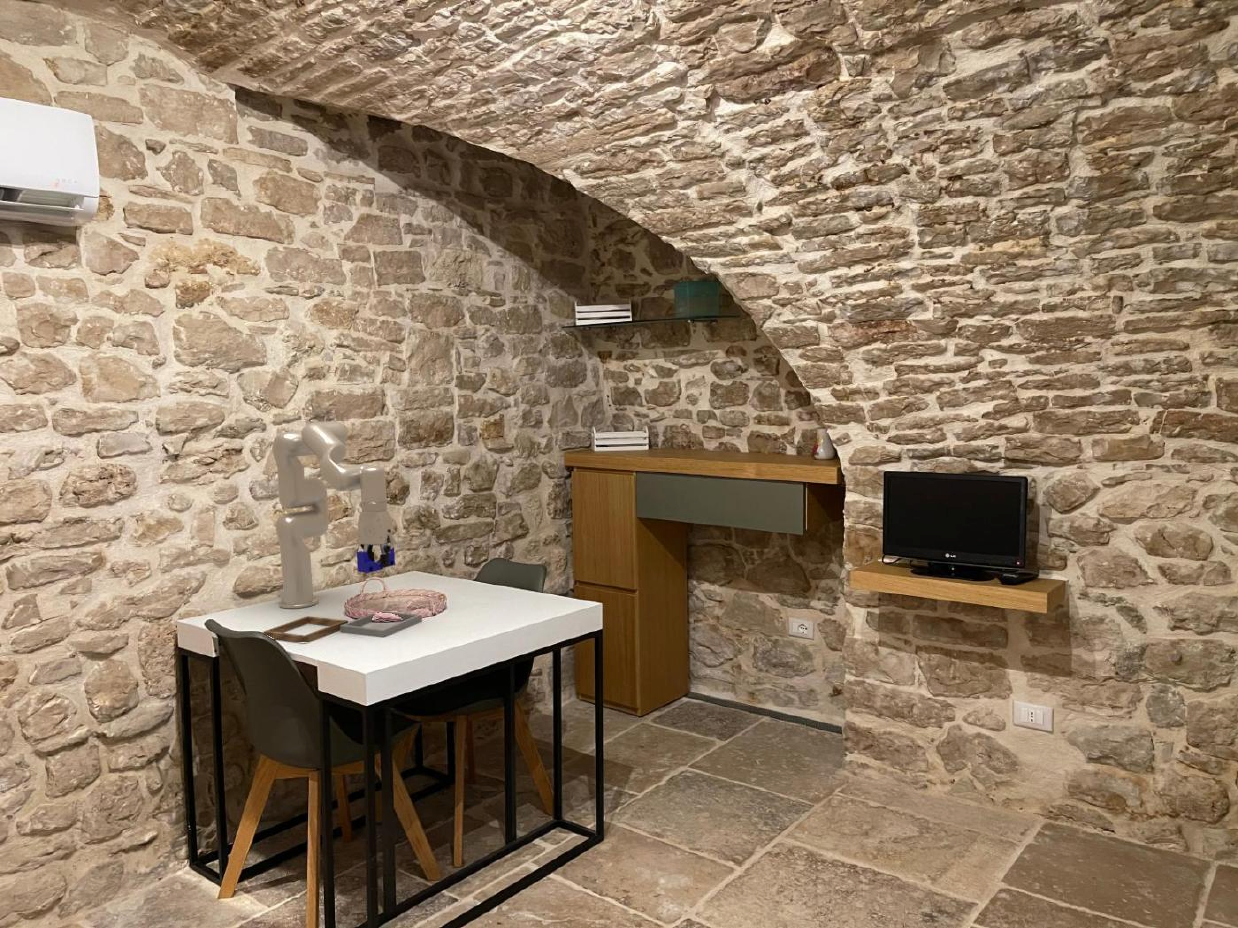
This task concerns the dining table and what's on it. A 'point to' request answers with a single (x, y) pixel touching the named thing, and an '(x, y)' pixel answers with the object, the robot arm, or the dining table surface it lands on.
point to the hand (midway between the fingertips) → (377, 565)
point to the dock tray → (355, 629)
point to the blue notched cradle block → (370, 566)
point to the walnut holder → (279, 631)
